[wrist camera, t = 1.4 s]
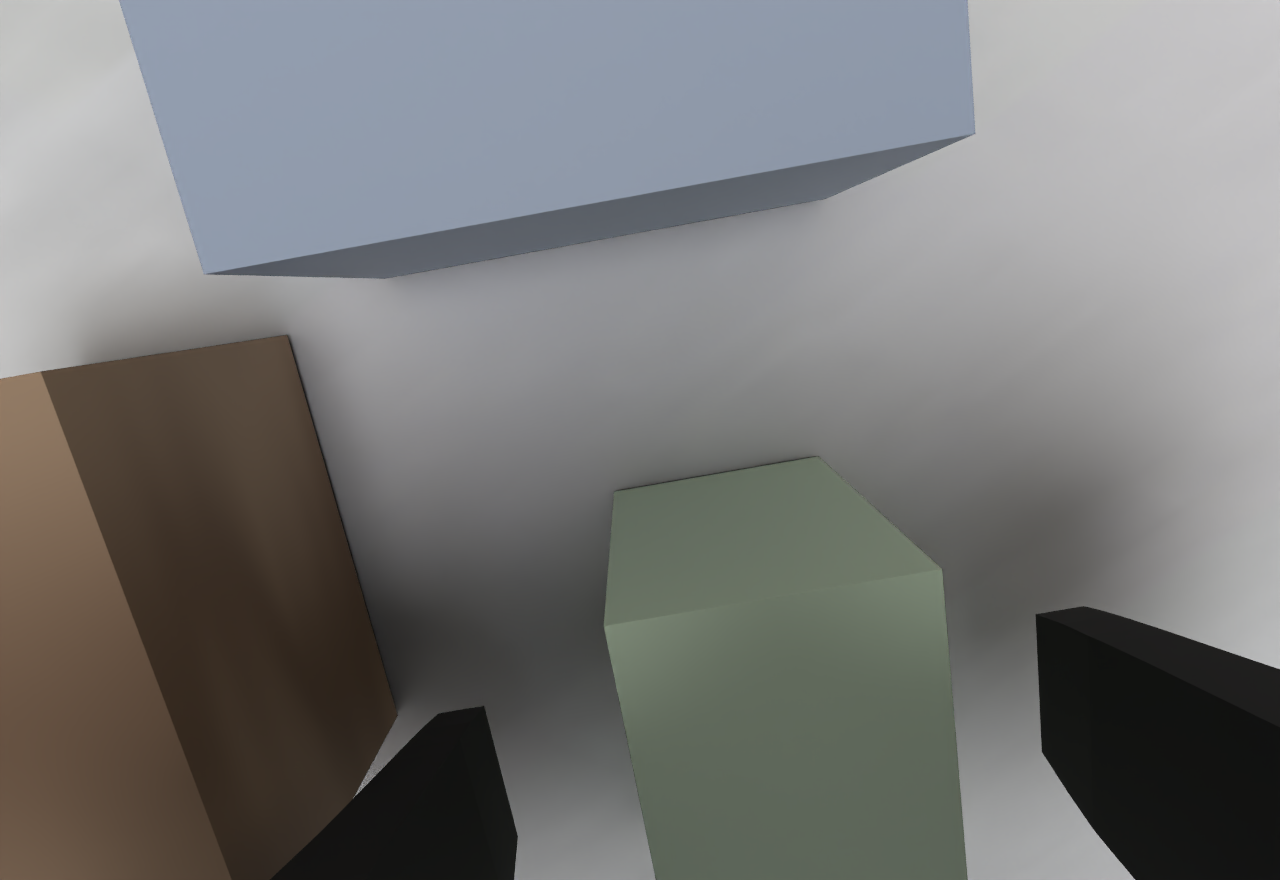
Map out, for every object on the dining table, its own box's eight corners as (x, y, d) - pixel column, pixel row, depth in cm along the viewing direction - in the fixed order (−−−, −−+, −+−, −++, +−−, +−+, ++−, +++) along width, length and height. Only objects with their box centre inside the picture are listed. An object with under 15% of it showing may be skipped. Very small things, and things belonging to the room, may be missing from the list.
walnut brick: (397, 715, 11) (264, 965, 7) (212, 746, 11) (-27, 1010, 7) (287, 335, 9) (41, 372, 5) (75, 373, 9) (-317, 436, 6)
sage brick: (860, 805, 11) (984, 1084, 7) (679, 834, 11) (707, 1126, 7) (817, 456, 10) (941, 569, 6) (613, 492, 10) (603, 625, 6)
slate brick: (798, -55, 8) (947, -350, 4) (826, 198, 9) (976, 132, 5) (323, 36, 9) (65, -174, 5) (384, 279, 9) (203, 274, 5)
